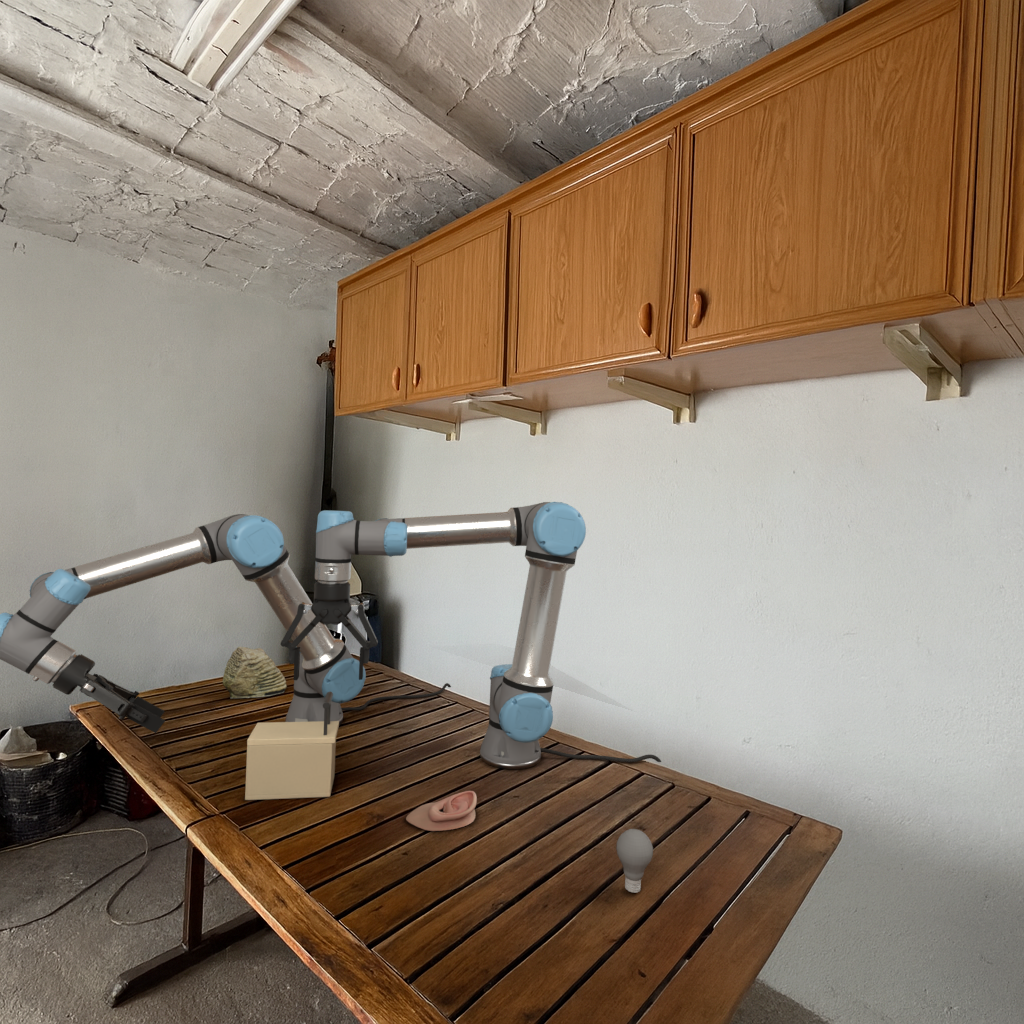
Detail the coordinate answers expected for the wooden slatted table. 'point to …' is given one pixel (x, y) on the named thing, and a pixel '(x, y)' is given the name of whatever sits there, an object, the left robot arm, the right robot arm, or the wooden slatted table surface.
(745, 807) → the wooden slatted table surface
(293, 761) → the chest
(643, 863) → the light bulb
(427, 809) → the anatomical model
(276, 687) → the fossil
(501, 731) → the right robot arm
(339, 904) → the wooden slatted table surface
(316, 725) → the lid
